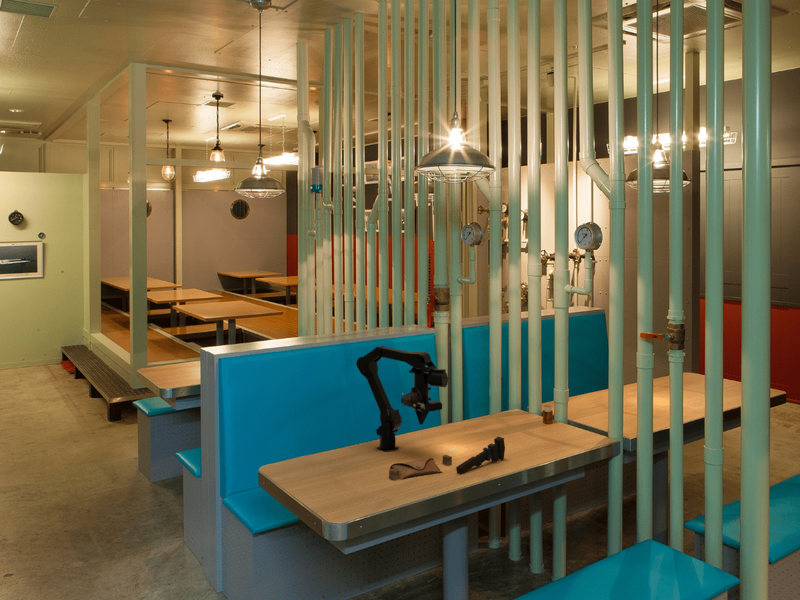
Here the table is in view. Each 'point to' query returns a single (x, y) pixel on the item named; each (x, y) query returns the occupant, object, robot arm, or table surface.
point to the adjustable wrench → (484, 456)
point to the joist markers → (395, 473)
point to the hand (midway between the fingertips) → (421, 424)
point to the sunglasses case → (416, 468)
